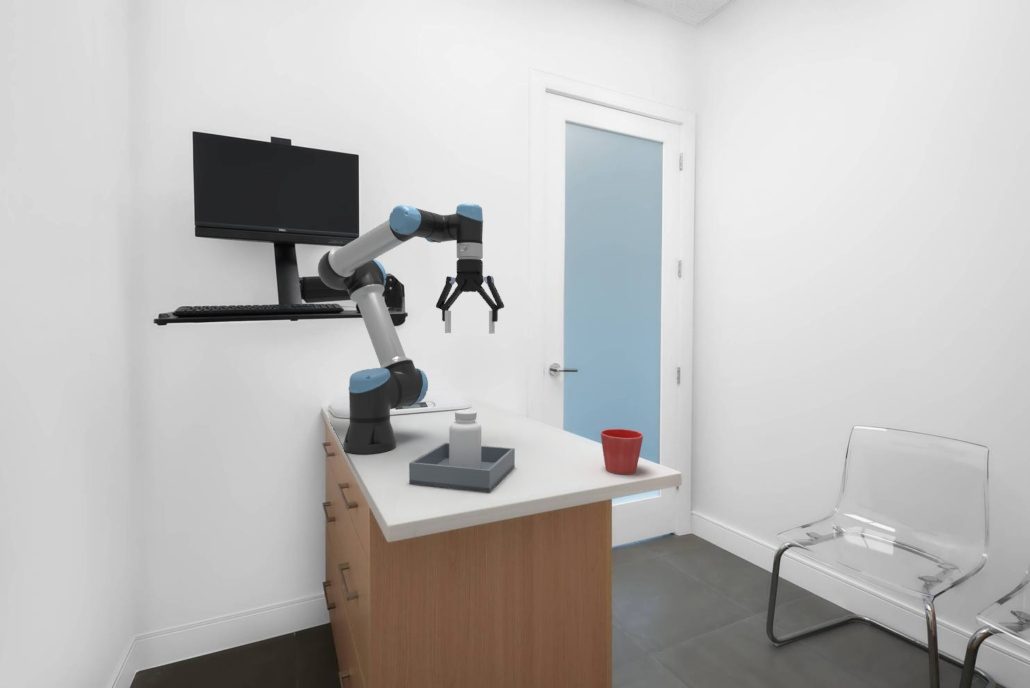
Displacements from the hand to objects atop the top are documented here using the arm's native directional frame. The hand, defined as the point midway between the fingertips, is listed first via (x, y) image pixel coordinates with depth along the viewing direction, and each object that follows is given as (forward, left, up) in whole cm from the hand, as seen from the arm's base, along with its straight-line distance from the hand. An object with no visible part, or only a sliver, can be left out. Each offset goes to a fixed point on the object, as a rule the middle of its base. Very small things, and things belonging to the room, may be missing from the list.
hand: (469, 333), depth 144 cm
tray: (+7, -21, -35) cm, 41 cm away
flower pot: (+44, -5, -35) cm, 56 cm away
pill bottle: (+7, -21, -34) cm, 41 cm away
